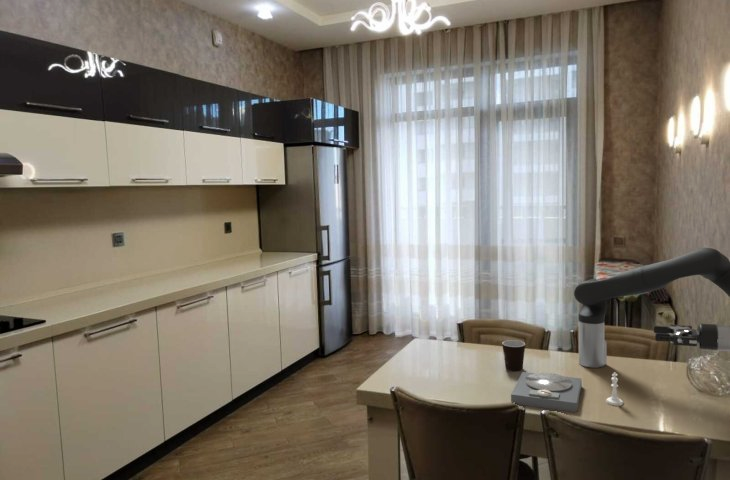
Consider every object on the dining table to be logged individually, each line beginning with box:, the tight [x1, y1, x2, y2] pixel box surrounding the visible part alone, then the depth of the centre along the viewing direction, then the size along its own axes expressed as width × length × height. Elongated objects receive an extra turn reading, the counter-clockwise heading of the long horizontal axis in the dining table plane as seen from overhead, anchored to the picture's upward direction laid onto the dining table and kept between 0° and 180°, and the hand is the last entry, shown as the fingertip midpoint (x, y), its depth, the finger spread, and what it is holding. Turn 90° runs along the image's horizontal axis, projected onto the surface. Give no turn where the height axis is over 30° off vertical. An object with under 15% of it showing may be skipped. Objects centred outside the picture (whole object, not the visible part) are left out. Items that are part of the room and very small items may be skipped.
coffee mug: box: [501, 339, 526, 372], centre depth 202 cm, size 12×9×10 cm
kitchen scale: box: [510, 371, 583, 413], centre depth 174 cm, size 22×20×4 cm
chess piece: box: [605, 372, 624, 407], centre depth 166 cm, size 5×5×10 cm
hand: (654, 333), depth 159 cm, fingers open, 8 cm apart
